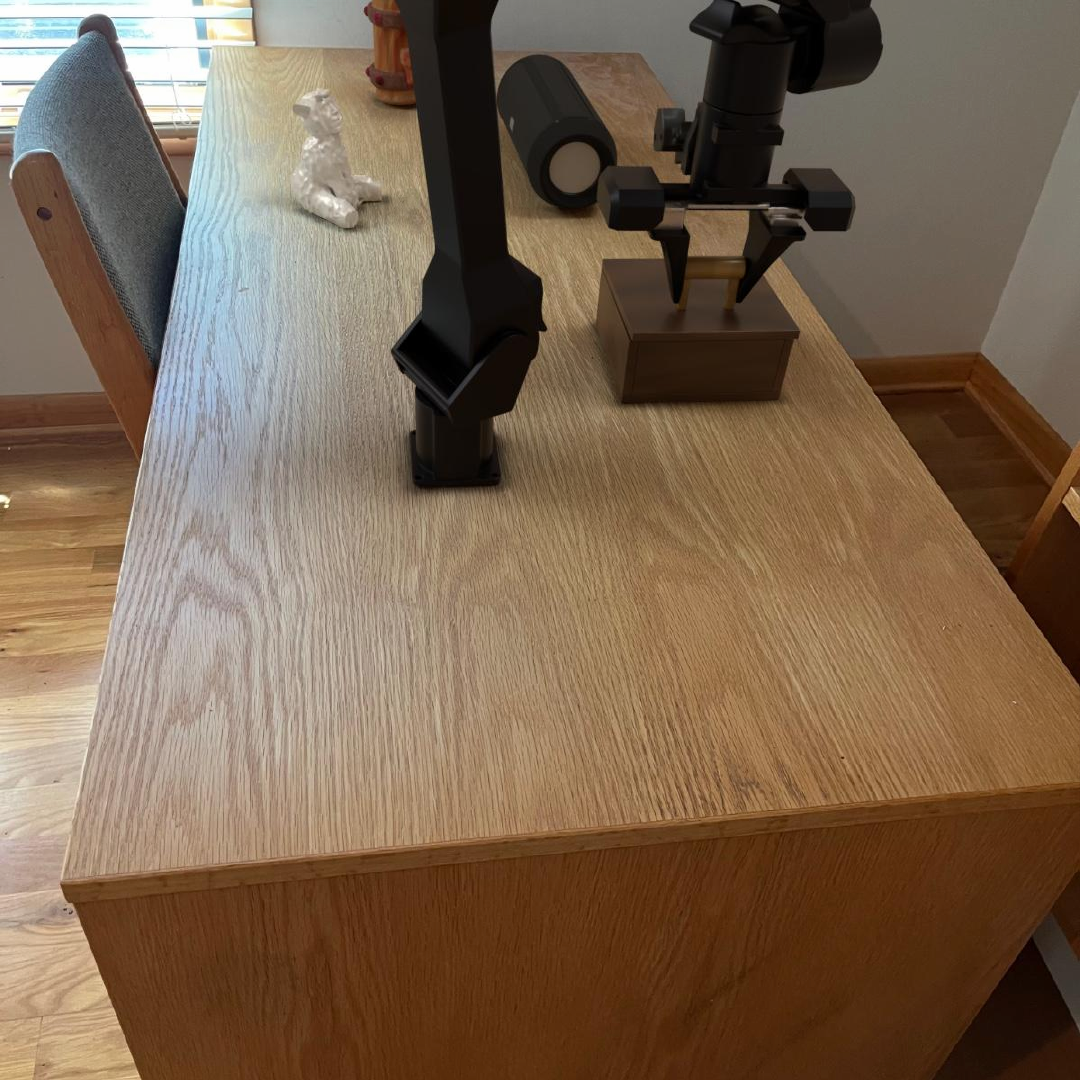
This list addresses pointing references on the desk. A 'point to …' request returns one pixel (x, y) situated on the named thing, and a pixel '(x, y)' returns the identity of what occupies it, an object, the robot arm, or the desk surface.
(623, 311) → the lid
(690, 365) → the keepsake box
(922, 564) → the desk surface
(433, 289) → the robot arm
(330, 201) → the white creature statuette
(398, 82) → the mug
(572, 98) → the portable speaker
